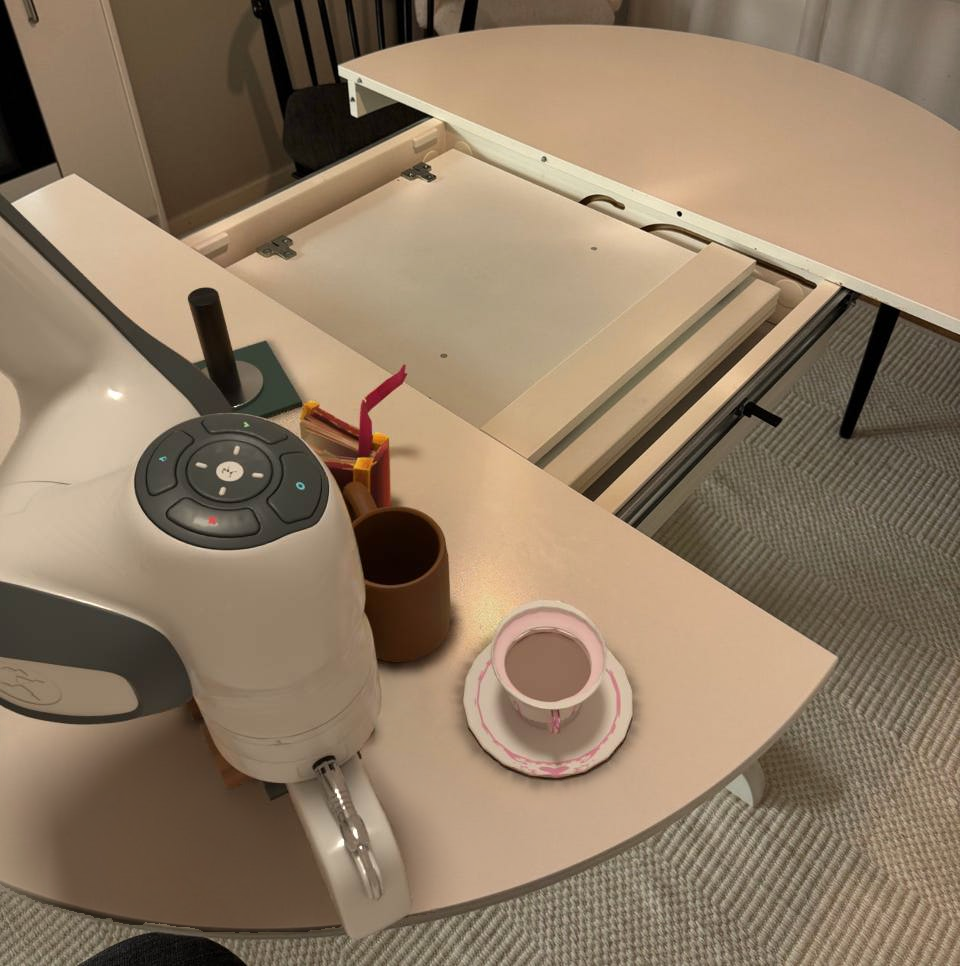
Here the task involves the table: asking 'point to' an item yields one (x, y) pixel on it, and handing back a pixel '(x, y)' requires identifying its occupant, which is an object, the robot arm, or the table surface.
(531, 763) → the teacup
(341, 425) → the book monster
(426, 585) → the mug
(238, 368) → the coffee tamper
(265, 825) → the table surface
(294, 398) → the mat
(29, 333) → the robot arm
